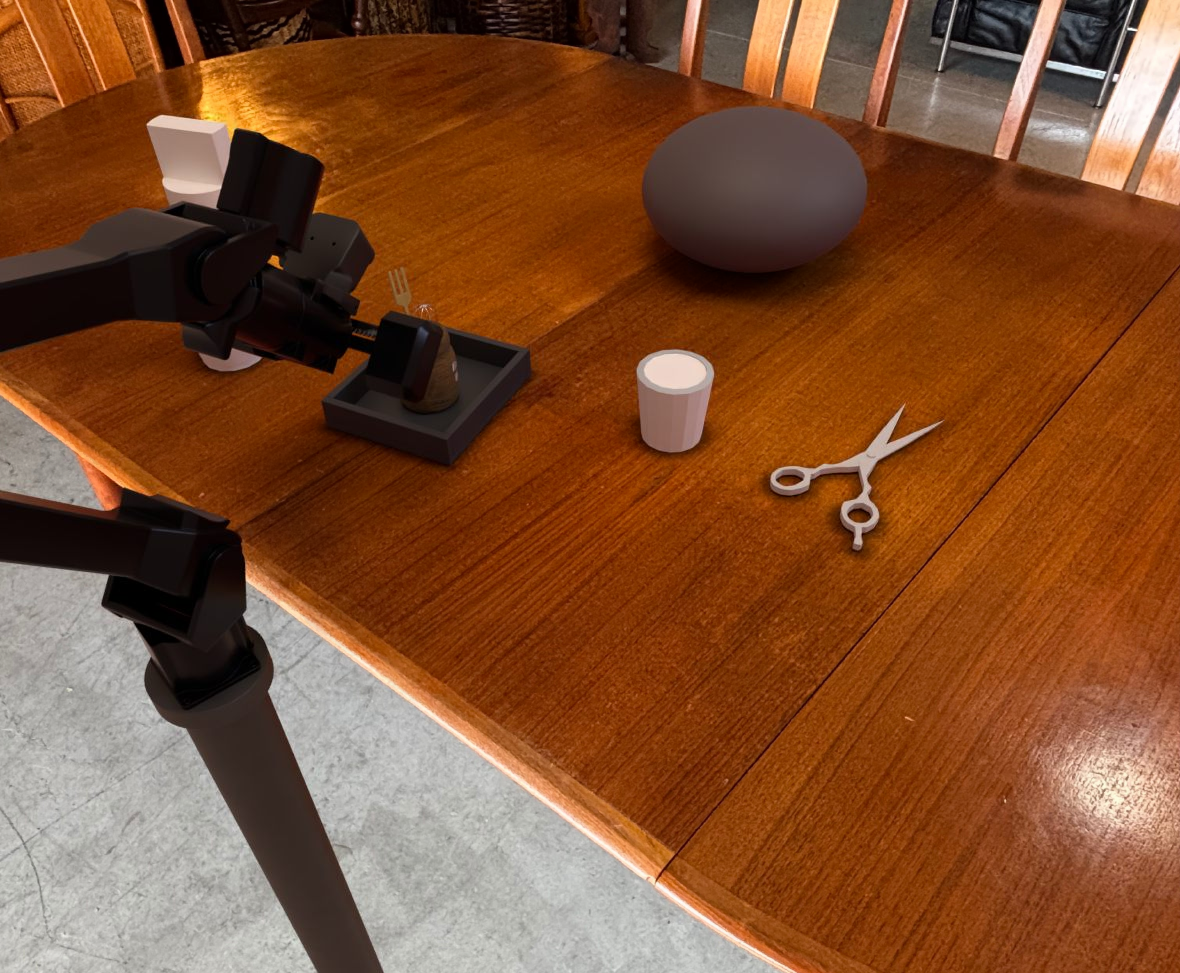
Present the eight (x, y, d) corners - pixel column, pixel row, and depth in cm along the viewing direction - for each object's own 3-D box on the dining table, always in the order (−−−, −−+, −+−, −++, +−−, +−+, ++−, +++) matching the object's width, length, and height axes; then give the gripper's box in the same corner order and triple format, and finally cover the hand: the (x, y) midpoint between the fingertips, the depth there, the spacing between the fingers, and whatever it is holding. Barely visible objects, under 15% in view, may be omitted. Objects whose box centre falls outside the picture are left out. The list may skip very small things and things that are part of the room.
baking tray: (450, 466, 89) (446, 439, 87) (327, 426, 93) (320, 400, 91) (531, 374, 98) (529, 349, 96) (416, 342, 102) (412, 317, 100)
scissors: (753, 487, 85) (877, 385, 95) (753, 494, 86) (875, 391, 96) (859, 545, 80) (978, 431, 90) (857, 552, 81) (975, 437, 91)
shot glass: (669, 466, 88) (673, 403, 83) (619, 430, 92) (620, 367, 87) (723, 436, 91) (730, 372, 86) (673, 402, 95) (677, 339, 90)
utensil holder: (418, 423, 92) (398, 310, 83) (386, 391, 96) (365, 279, 87) (472, 401, 95) (458, 288, 86) (439, 370, 98) (423, 259, 89)
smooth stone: (602, 231, 118) (602, 101, 107) (774, 186, 126) (790, 61, 115) (711, 330, 103) (724, 192, 92) (899, 273, 111) (931, 139, 100)
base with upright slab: (163, 237, 118) (128, 135, 109) (204, 203, 124) (174, 104, 115) (229, 247, 116) (198, 145, 108) (267, 213, 122) (241, 113, 113)
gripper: (411, 225, 67) (501, 294, 82) (198, 174, 73) (319, 247, 88) (365, 382, 68) (463, 422, 83) (158, 320, 74) (284, 368, 89)
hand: (380, 360), depth 86 cm, fingers open, 9 cm apart
